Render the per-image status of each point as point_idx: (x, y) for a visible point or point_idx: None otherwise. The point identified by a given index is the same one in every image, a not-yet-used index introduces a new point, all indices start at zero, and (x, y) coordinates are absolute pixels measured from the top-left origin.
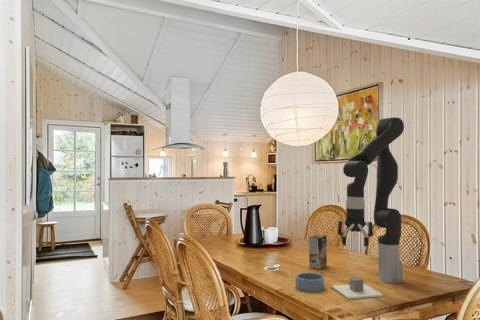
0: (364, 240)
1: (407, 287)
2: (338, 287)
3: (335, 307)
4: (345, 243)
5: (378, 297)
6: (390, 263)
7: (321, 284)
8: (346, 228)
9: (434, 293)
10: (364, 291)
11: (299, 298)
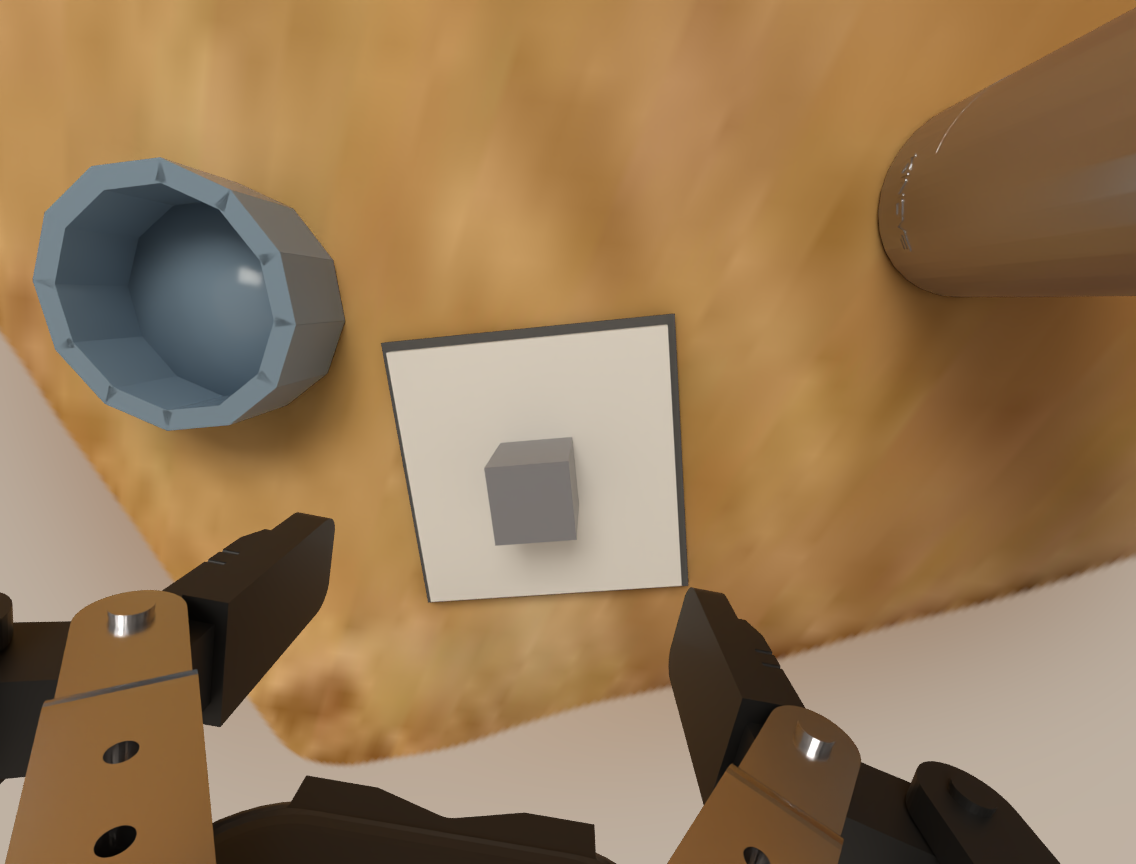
0: (702, 704)
1: (997, 392)
2: (427, 397)
3: (329, 671)
4: (294, 627)
5: (639, 588)
6: (1081, 288)
7: (280, 397)
8: (47, 814)
9: (1085, 545)
10: (583, 511)
11: (141, 508)
